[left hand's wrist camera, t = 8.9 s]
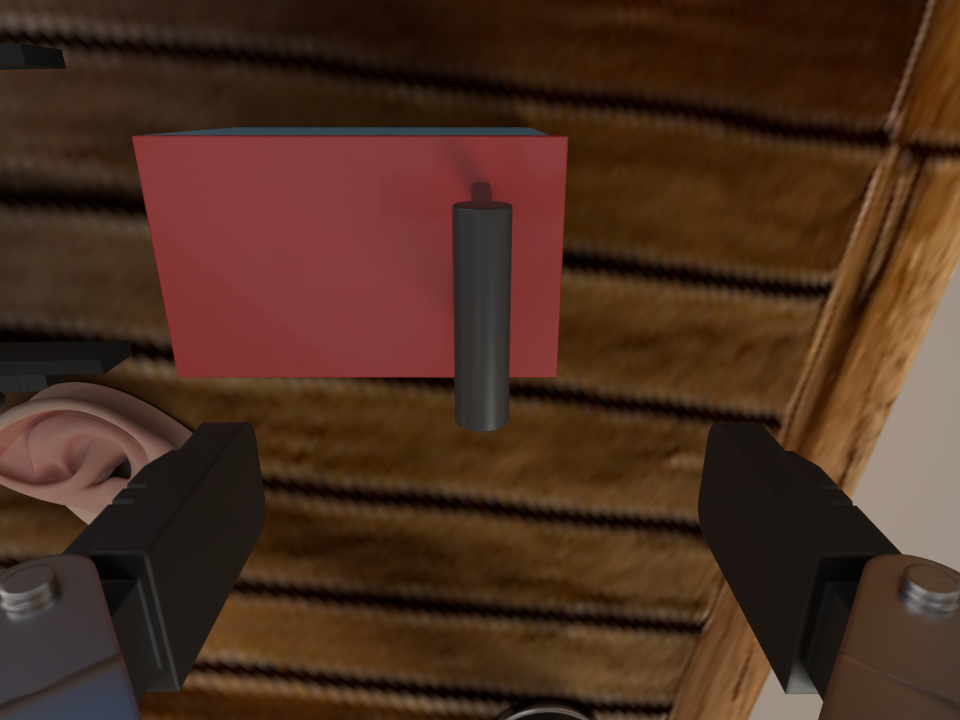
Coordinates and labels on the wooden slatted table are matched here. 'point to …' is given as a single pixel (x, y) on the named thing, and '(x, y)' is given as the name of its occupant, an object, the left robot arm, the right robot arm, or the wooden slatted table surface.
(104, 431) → the anatomical model
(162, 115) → the wooden slatted table surface
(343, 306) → the lid
